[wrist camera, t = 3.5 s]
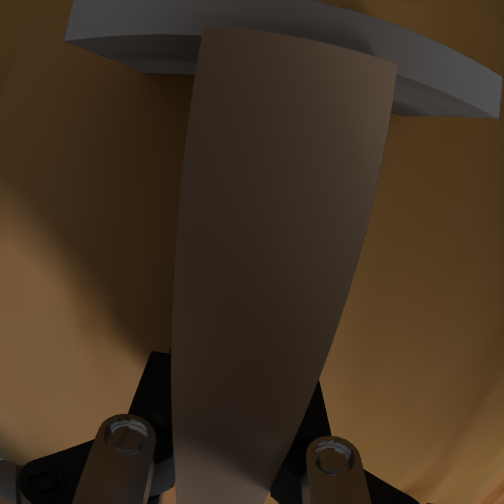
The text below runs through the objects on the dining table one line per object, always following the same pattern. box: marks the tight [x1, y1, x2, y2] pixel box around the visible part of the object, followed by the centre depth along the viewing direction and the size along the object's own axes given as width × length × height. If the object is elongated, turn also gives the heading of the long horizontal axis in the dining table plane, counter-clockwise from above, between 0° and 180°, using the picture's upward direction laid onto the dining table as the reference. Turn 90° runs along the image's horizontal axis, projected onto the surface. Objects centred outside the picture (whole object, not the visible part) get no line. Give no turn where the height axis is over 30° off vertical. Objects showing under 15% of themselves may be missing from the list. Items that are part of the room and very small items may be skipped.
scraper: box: [64, 0, 503, 504], centre depth 7 cm, size 7×12×4 cm, turn 171°
